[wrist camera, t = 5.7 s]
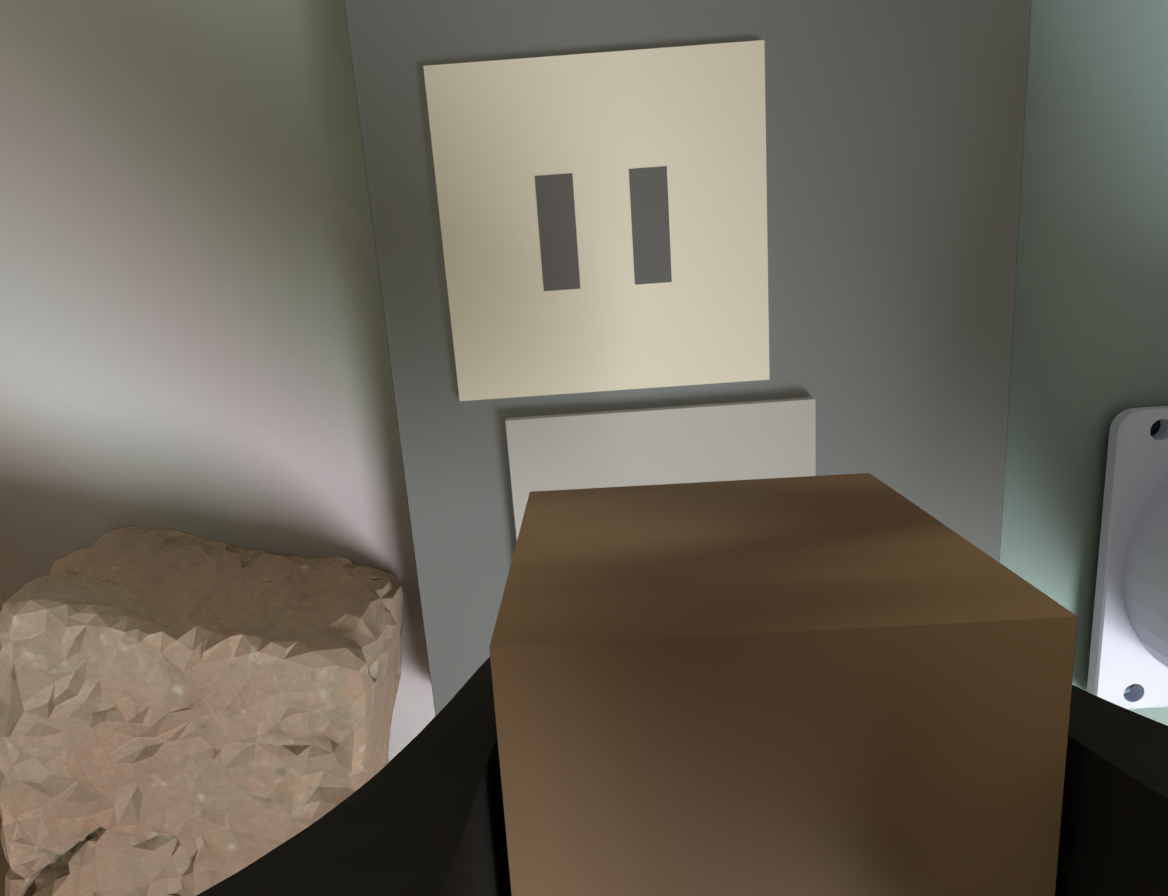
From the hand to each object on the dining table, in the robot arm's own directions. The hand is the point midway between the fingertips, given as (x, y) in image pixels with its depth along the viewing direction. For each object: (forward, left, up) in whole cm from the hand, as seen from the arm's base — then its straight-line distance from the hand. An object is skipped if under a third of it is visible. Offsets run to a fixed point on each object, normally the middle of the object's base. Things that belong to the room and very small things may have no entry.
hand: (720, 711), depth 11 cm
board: (-1, -7, -9) cm, 12 cm away
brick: (+12, +8, -10) cm, 18 cm away
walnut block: (0, 0, -2) cm, 2 cm away
